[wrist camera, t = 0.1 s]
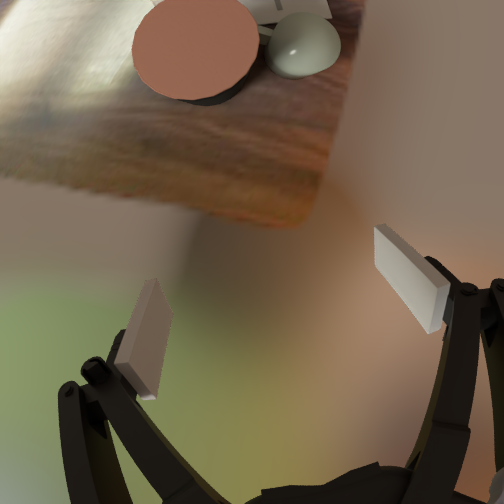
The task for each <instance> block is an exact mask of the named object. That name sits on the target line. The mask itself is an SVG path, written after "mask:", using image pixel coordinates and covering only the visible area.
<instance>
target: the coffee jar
mask: <svg viewBox="0 0 504 504" xmlns="http://www.w3.org/2000/svg"><path fill="white" fill-rule="evenodd" d="M259 42H260V37H259V32H258V27H257V23H256V21H255V19H254V18H253V16H252V14H251V13H250V11H249V10H248V8H246V7H245V6H244V5H243V4H241V3H240V2H239V1H237V0H164V1H162V2H160V3H158V4H157V5H156V6H155V7H154V8H153V9H152V10H151V11H150V12H149V13H148V14H146V15H145V16H144V18H143V20H142V21H141V23H140V25H139V26H138V28H137V30H136V32H135V35H134V40H133V45H132V56H133V63H134V67H135V69H136V70H137V72H138V74H139V76H140V77H141V79H142V81H143V82H145V83H146V84H147V85H148V86H149V87H151V88H152V89H153V90H154V91H155V92H157V93H160V94H163V95H165V96H168V97H170V98H173V99H177V100H180V101H183V102H187V103H191V104H194V105H201V106H211V105H217V104H221V103H223V102H225V101H227V100H229V99H231V98H232V97H233V96H234V95H235V94H236V93H237V92H239V91H240V89H241V87H242V86H243V84H244V82H245V80H246V78H247V76H248V74H249V72H250V70H251V68H252V66H253V64H254V61H255V59H256V57H257V52H258V47H259Z"/></svg>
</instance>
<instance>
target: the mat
mask: <svg viewBox="0 0 504 504" xmlns="http://www.w3.org/2000/svg"><path fill="white" fill-rule="evenodd" d="M237 1H239V2H240V3H241V4H243V5H244V6H245V7H246V8H248V10H249V11H250V13H251V14H252V16H253V18H254V19H255V21H256V23H257V25H259V26H260V25H267V24H274V23H278V22H279V21H280V20H281V19H282V18H284V17H285V16H287V15H289V14H292V13H296V12H309V13H313V14H316V15H319V16H321V17H323V18H324V19H332V15H331V12H330V9H329V6H328V3H327V0H237Z"/></svg>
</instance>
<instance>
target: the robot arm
mask: <svg viewBox="0 0 504 504" xmlns="http://www.w3.org/2000/svg"><path fill="white" fill-rule="evenodd" d="M374 241H375V266H376V268H377V269H378V270H379V271H380V272H381V274H382V275H383V276H384V277H385V279H386V280H387V281H388V282H389V283H390V285H391V286H392V287H393V289H394V290H395V291H396V292H397V294H398V295H399V296H400V298H401V299H402V300H403V301H404V303H405V304H406V305H407V307H409V309H410V311H411V312H412V313H413V315H414V316H415V317H416V319H417V320H418V321H419V322H420V324H421V325H422V327H423V328H424V330H425V331H426V332H427V334H430V333H433V332H435V331H437V330H439V329H440V328H441V324H442V321H444V322H445V323H446V325H447V326H446V330H445V333H444V337H443V347H442V352H441V357H440V362H439V367H438V371H437V375H436V379H435V384H434V387H433V391H432V395H431V398H430V402H429V405H428V409H427V412H426V415H425V418H424V421H423V424H422V427H421V430H420V433H419V436H418V439H417V441H416V444H415V447H414V449H413V451H412V453H411V455H410V457H409V460H408V461H407V464H406V466H405V468H402V467H397V466H379V463H378V462H375V463H372V464H369V465H366V466H363V467H360V468H357V469H354V470H351V471H349V472H347V473H346V474H343V475H341V476H340V477H338V478H336V479H334V480H332V481H330V482H328V483H326V484H324V485H318V486H317V485H316V486H315V485H314V486H304V485H302V486H301V485H300V486H298V485H289V486H283V487H276V488H270V489H262V490H261V494H262V495H260V496H257V497H255V498H253V499H251V500H249V501H248V502H246V503H245V504H504V279H500V278H498V279H494V280H493V281H492V283H491V286H490V288H487V289H478V287H477V286H475V285H474V284H471V283H461V282H460V281H459V280H458V279H457V278H456V277H455V276H454V275H453V274H452V273H451V272H450V271H449V270H447V269H446V268H445V267H444V266H442V264H441V263H440V262H439V261H438V260H436V259H434V258H432V257H430V256H426V257H423V256H421V255H420V254H419V253H418V252H417V251H416V250H415V249H414V248H413V247H412V246H410V245H409V244H408V243H407V242H406V241H405V240H404V239H402V238H401V237H400V236H399V235H398V234H396V233H395V232H394V231H393V230H392V229H391V228H390V227H388V226H387V225H386V224H382V225H377V226H374ZM172 318H173V312H172V310H171V308H170V306H169V304H168V301H167V299H166V297H165V295H164V293H163V291H162V289H161V286H160V284H159V282H158V280H157V278H155V279H151V280H147V281H145V283H144V286H143V288H142V290H141V293H140V296H139V298H138V300H137V303H136V305H135V308H134V310H133V313H132V315H131V318H130V321H129V323H128V326H127V328H126V329H123V330H121V331H120V332H119V333H118V334H117V336H116V337H115V339H114V342H113V345H112V347H111V351H110V352H109V355H108V358H107V360H106V363H105V361H104V360H103V359H102V358H101V357H98V356H96V357H92V358H90V359H88V360H87V361H86V362H85V363H84V364H83V366H82V368H81V375H82V376H83V377H84V378H85V380H86V381H87V382H88V384H85V385H83V386H79V385H78V384H77V383H76V382H75V381H69V382H66V383H65V384H63V385H62V386H61V388H60V389H59V392H58V412H59V428H60V439H61V448H62V457H63V464H64V470H65V476H66V482H67V487H68V492H69V496H70V501H71V504H133V502H132V500H131V497H130V494H129V491H128V489H127V486H126V483H125V480H124V477H123V474H122V471H121V468H120V464H119V461H118V458H117V454H116V451H115V448H114V444H113V440H112V436H111V432H110V428H109V424H108V420H109V422H110V423H111V425H112V427H113V428H114V430H115V432H116V434H117V435H118V437H119V438H120V440H121V442H122V443H123V445H124V446H125V448H126V450H127V451H128V453H129V454H130V456H131V457H132V459H133V460H134V462H135V463H136V465H137V466H138V468H139V469H140V470H141V472H142V473H143V475H144V476H145V477H146V479H147V480H148V481H149V483H150V484H151V485H152V487H153V488H154V489H155V490H156V492H157V493H158V494H159V496H160V497H161V498H162V500H163V502H162V504H231V503H230V502H228V501H227V500H226V499H224V498H223V497H222V496H221V495H220V494H219V493H218V492H217V491H215V490H214V489H213V488H212V487H211V486H210V485H209V484H208V483H207V482H206V481H205V480H204V479H203V478H202V477H201V476H200V475H199V474H198V473H197V472H196V471H195V470H194V469H193V468H192V467H191V466H190V464H188V462H187V461H186V460H185V459H184V458H183V457H182V456H181V455H180V454H179V452H178V451H177V450H176V449H175V448H174V447H173V446H172V445H171V443H170V442H169V441H168V440H167V439H166V437H165V436H164V435H163V434H162V433H161V431H160V430H159V429H158V428H157V426H156V425H155V424H154V423H153V421H152V420H151V419H150V418H149V417H148V415H147V414H146V412H145V411H144V410H143V408H142V407H141V406H140V404H139V403H138V402H137V401H136V396H137V394H138V395H139V396H140V397H141V398H142V400H151V399H157V394H158V388H159V382H160V377H161V371H162V366H163V361H164V356H165V351H166V346H167V340H168V336H169V331H170V327H171V322H172ZM480 334H481V338H482V343H483V348H484V352H485V358H486V363H487V369H488V375H489V381H490V389H491V398H492V407H493V420H494V445H495V465H496V472H497V473H496V474H495V476H494V478H493V480H492V483H491V486H490V489H489V493H490V494H491V495H490V498H489V501H488V503H485V502H482V501H479V500H476V499H474V498H471V497H469V496H466V495H464V494H461V493H459V492H456V491H454V488H455V485H456V482H457V480H458V477H459V474H460V471H461V468H462V464H463V461H464V457H465V454H466V450H467V446H468V443H469V439H470V433H471V431H470V428H468V423H469V418H470V413H471V408H472V403H473V397H474V390H475V383H476V376H477V366H478V355H479V342H480Z"/></svg>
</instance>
